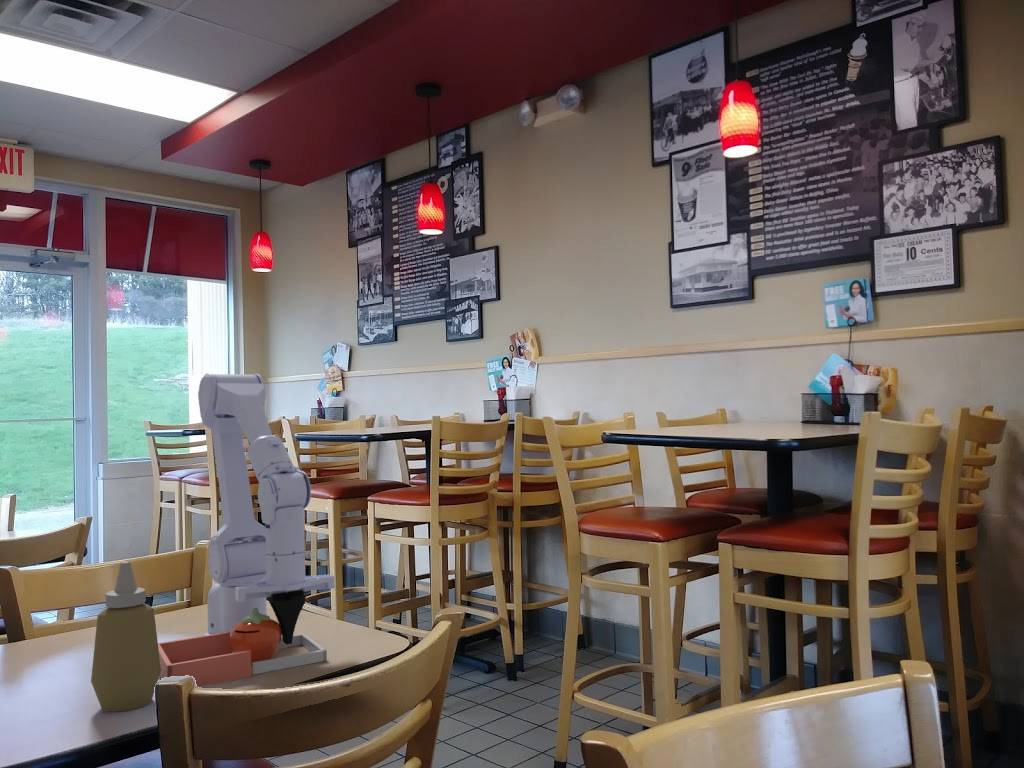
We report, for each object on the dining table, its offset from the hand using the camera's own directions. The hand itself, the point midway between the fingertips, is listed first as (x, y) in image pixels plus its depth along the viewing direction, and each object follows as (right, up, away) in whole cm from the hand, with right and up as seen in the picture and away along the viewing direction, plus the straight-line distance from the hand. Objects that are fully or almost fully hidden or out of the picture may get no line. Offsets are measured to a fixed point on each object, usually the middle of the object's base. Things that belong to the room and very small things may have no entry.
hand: (287, 642), depth 120 cm
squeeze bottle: (-15, -2, -19) cm, 24 cm away
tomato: (-4, -2, -2) cm, 5 cm away
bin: (-10, -2, -6) cm, 11 cm away
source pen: (-1, -2, -1) cm, 2 cm away
